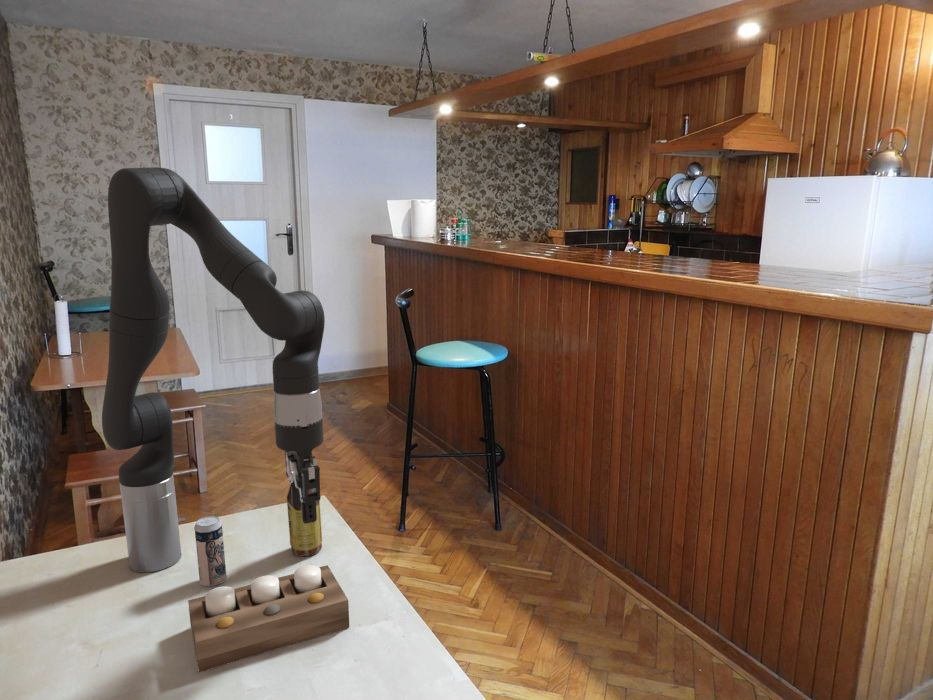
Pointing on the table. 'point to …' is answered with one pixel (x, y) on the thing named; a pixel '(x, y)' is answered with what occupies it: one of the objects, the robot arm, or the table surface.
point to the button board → (267, 621)
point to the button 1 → (220, 601)
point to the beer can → (210, 551)
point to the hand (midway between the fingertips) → (304, 512)
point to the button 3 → (307, 579)
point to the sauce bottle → (303, 530)
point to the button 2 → (265, 590)
